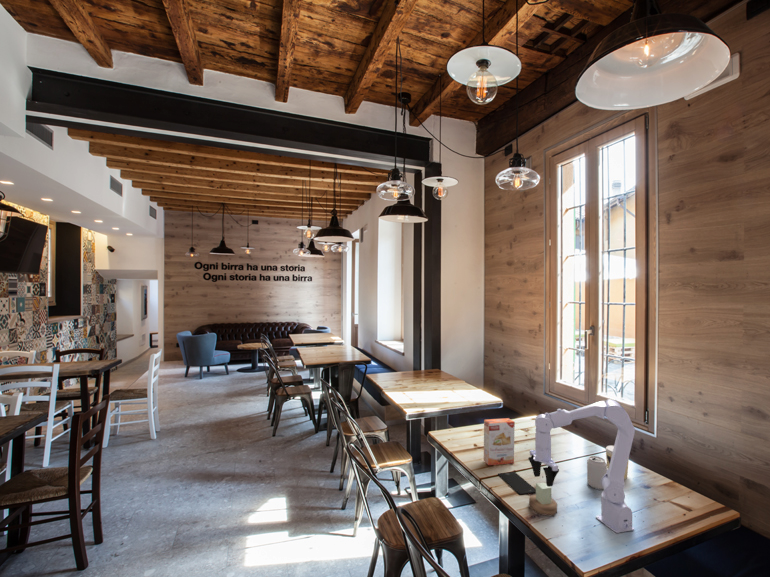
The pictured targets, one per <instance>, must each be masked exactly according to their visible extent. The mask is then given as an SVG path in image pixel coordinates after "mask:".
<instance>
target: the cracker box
mask: <svg viewBox="0 0 770 577" xmlns="http://www.w3.org/2000/svg"><path fill="white" fill-rule="evenodd" d="M483 462H484V463H485V464H487V465H488V466H496V465H499V466H500V465H509V464H510V465H511V464H515V421H513V420H512V419H510V418H509V417H507V418H491V419H489V418H488V419H484V420H483Z"/></svg>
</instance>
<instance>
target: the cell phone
mask: <svg viewBox="0 0 770 577" xmlns="http://www.w3.org/2000/svg"><path fill="white" fill-rule="evenodd" d="M497 476H499V477H500V479H502V480H503V482H505V484H507V485H508V486H509V487H510V488H512V490H513V491H515V492H516V493H517V494H518V495H519V496H524V495H525V496H527V495H534V494H536V487H533V486H532V485H531V484H530V483H529V482H528V481H527V480H525V479H524V478H523V477H521V476H520V475H519V474H518V473H516V472H515V471H507V472H499V473H497Z"/></svg>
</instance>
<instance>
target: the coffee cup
mask: <svg viewBox="0 0 770 577" xmlns="http://www.w3.org/2000/svg"><path fill="white" fill-rule="evenodd" d="M613 449H614V445H607V446H606V447H605V457H606V458H605V459H606V464H607V469H608V468H609V465H610V461H611V457H612V453H613ZM629 458H630V457H629ZM629 458H628V462H627V466H626V470H625V475H624V480H627V478H628V475H629V474H628V473H629V472H628V471H629V462H630V461H629V460H630V459H629Z"/></svg>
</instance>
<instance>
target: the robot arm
mask: <svg viewBox="0 0 770 577" xmlns="http://www.w3.org/2000/svg"><path fill="white" fill-rule="evenodd" d="M590 417H598V418H600V419H602V420H605V417H606V418H607V420H608V421H609V422H611V423H612V424H613V425H614V426H615V427H616V428H617V433H616V437H615V441H614V445H613V446H614V449H613V453H612V457H611V461H610V465H609V468H608V469H607V471H606V474H605V475H604V476H603V477H602V479H601V484H602V486H603V489H602V490H603V491H602V492H601V494H600V496H601V497H600V500H601V503H600V504H601V506H600V509H601V512H600V513H601V514H600V515H595V518H596V519H597V520H598V521H600V522H601V523H602V524H604V525H605V526H606V527H608V528H609V529H611V530H612V531H613V532H615V533H616V534H619V533H625V532H630V531H634V530H635V528H634V526H633V511H632V509H631V508H630V507H629V506H628V505H627V504H626V502H625V498H626V494H625V490H624V489H625V479H624V475H625V470H626V466H627V462H628V463H629V461H628V458H630V453H631V449H632V445H633V441H634V437H635V432H636V428H635V427H634V423H632V420H631V418H630V415H629V414H628V412H627V411H626V409H625V408H624V407H623V406H622V404H620V402H619V401H617V400H616V399H612V398H611V399H610V398H609V399H606V400H600V401H596V402H594V403H591V404H588V405H584V406H581V407H578V408H576V409H571V410H568V409H567V410H566V409H565V408H563V409H562V408H557V409H556V411H553V412H544V413H541V414H538V415H536V417H535V419H534V421H535V423H534V425H535V439H534V440H535V442H534V444H535V446H534V448H535V449H530V450H529V455H530V456H529V457H528V461H529V463H530V466H531V468H532V471H533V472H532V473H533V476H534V477H536V478H537V477H540V476H541V471H542V470H541V469H543V472H544V474H545V483H546V484H547V486H548V487H549V486H550V487H553V485H554V482H555V480H556V476H557V474H558V473H559V472H560V469H559V465H558V464H556V463H555V461H554V460H553V458H552V435H551V431H552V429H557V428H560V427H561V428H562V427H566V426H569V425H571V424H572V422H573V421H574V420H579V419H584V418H590ZM542 464H544V465H546V466H547V467H543V468H542Z"/></svg>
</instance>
